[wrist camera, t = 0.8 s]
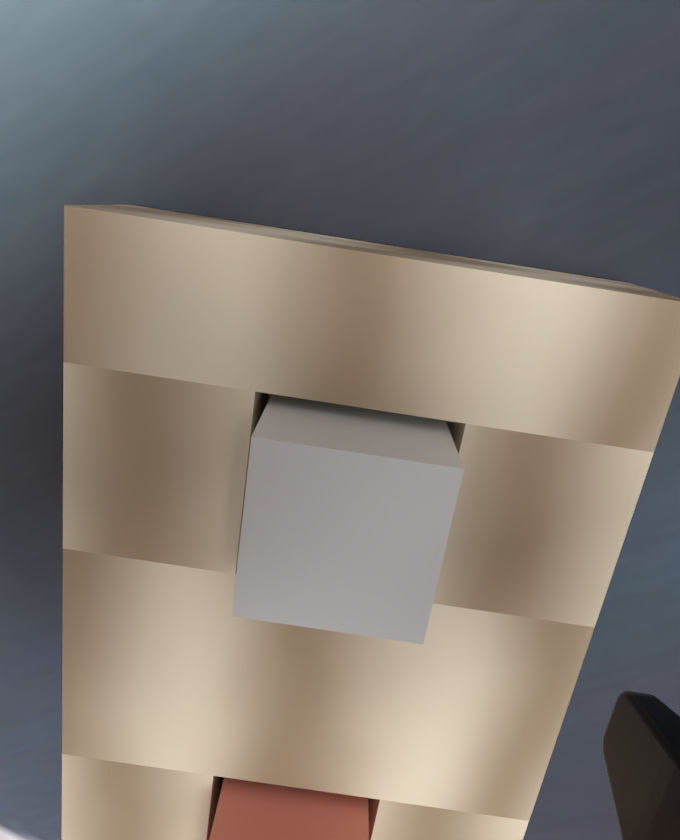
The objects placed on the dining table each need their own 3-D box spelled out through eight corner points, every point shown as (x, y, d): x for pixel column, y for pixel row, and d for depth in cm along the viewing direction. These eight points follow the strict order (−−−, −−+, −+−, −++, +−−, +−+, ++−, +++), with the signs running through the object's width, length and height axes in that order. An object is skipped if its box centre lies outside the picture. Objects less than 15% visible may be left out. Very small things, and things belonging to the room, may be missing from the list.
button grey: (443, 414, 16) (463, 468, 13) (411, 561, 18) (423, 644, 14) (274, 388, 16) (251, 437, 13) (256, 538, 18) (231, 616, 14)
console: (630, 283, 17) (703, 305, 14) (452, 882, 25) (468, 1001, 22) (129, 204, 17) (63, 205, 13) (106, 832, 25) (61, 944, 21)
